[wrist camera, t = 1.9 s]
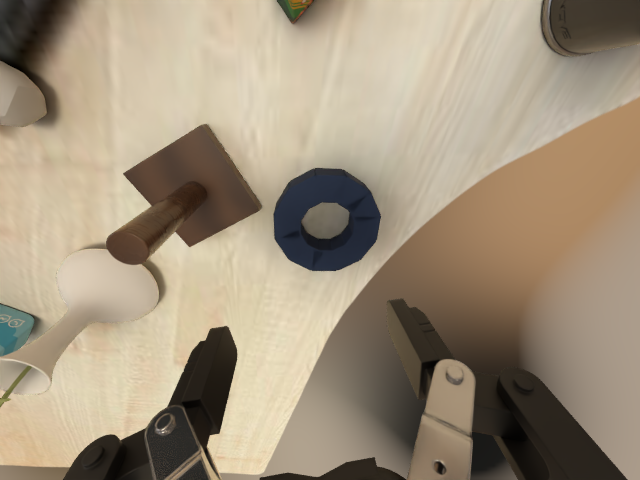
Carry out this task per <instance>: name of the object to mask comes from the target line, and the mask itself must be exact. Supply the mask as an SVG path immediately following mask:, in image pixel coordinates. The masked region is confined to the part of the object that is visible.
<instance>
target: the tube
mask: <svg viewBox="0 0 640 480" xmlns="http://www.w3.org/2000/svg"><path fill="white" fill-rule="evenodd" d="M46 114H47V110H46V104H45V97H44V95H43V94H42V92H41V91H40V89H39V88H38V87H37V86H36V85H35V84H34V83H33V82H32V81H31V80H30V79H29V78H28V77H27V76H26V75H25V74H24V73H22V72H20V71H19V70H17V69H15V68H13V67H11V66H9V65H7V64H5V63H4V62H2V61H0V124H1V125H8V126H17V127H24V126H27V125H30V124H33V123H34V122H36V121H37V120H39V119H40V118H42V117H43V116H45V115H46Z"/></svg>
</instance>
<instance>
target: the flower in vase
mask: <svg viewBox="0 0 640 480" xmlns="http://www.w3.org/2000/svg"><path fill="white" fill-rule="evenodd" d="M56 282H57V287H58V291H59V293H60V295H61V297H62V299H63V301H64V302H65V304H66V305H67V307H68V309H67V312H66V313H65V315H64V316H63V317H62V318H61V319H60V320H59V321H58V322H57V323H56V324H55V325H54V326H53V327H51V328H50V329H49V330H48V331H47V332H45V333H44V334H43V335H41V336H40V337H38V338H37V339H36V340H34V341H33V342H31V343H29V344H28V345H26V346H25V347H23V348H21V349H19V350H17V351H15V352H13V353H10V354H7V355H4V356H1V357H0V389H1V390H3V391H6V392H5V394H4V395H3V396H2V398H0V407H1V406H2V404H3V403H4V402H6V401H9V400H11V399H9V398H8V396H9V395H10V394H11V393H14V394H20V395H36V394H41V393H44V392H46V391H47V390H49V388H50V387H51V384H52V373H53V369H54V367H55V365H56V362H57V361H58V359H59V358H60V356H61V355H62V353H63V352H64V350H65V349H66V348H67V347H68V345H69V344H70V343H71V342H72V341H73V339H74V338H75V337H76V336H77V335H78V334H79V333H80V332H81V331H82V330H83V329H84V328H86V327H87V326H88V325H90V324H92V323H95V322H100V323H124V322H130V321H135V320H138V319H140V318H142V317H144V316H145V315H147V314H149V313H150V312H151V311H152V310H153V309H154V308H155V307H156V305H157V303H158V300H159V290H158V286H157V283H156V280H155V279H154V277H153V275H152V274H151V273H150V271H149V270H148V269H147V268H146V267H145V266H143V265H142V264H139V265H128V264H125V263H122V262H120V261H118V260H116V259H115V258H114V257H113V256H112V255H111V254H110V253H109V251H108V250H107V249H84V250H79V251H76V252H74V253H72V254H70V255H68V256H67V257H66V258H65V259H64V260H63V261H62V263H61V265H60V266H59V268H58V270H57V273H56Z"/></svg>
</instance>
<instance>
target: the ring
mask: <svg viewBox="0 0 640 480" xmlns="http://www.w3.org/2000/svg"><path fill="white" fill-rule="evenodd" d="M322 202H325V203H338V204H339V205H341V206H342V207H344V208H346V209H347V210H349V212H350V214H349V223H348V225H347V227H346V228H345V229H344V231H343V232H342V233H341V234H340V235H338V236H335V237H333V238H331V239H317V238H315V237H313V236H311V235H310V234H308V233H307V232H306V231H305V229H304V227H303V226H302V224H301V220H302V218H303V217H304V215H305V214H306V212H307V211H308V209H310V208H312V207H314V206H316V205H318V204H320V203H322ZM380 219H381V216H380V212H379V210H378V208H377V205H376V203H375V200H374V198H373V196H372V193H371V192H370V190H369V189H368V188H367V187H366V185H365V184H364V183H363V182H361V181H360V180H358V179H357V178H355V177H354V176H352V175H351V174H349V173H348V172H346V171H345V170H342V169H323V168H315V170H314V169H312V170H310V171H308V172H306V173H304V174H302V175H301V176H299V177H297V178H295V179H293V180H291V181H290V182H289V183H288V185H287V186H286V188H285V190H284V191H283V193H282V195H281V196H280V198H279V200H278V202H277V203H276V207H275V211H274V236H275V240H276V242H277V243H278V245H279V246H280V248H281V249H282V251H283V252H284V253H285V255H286V256H287V258H288V259H289V260H290V261H292V262H294V263H296V264H298V265H300V266H302V267H304V268H307V269H309V270H312V271H336V269H337V270H340V269H342V268H344V267H347V266H349V265H351V264H353V263H355V262H358V261H359V259H360V260H361V259H362V258H363V256H364V255H365V254H366V253H367V252H368V250H369V249H370V248H371V247H372V246H373V244H374V243H375V242H376V240H377V235H378V230H379V224H380Z"/></svg>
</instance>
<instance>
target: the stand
mask: <svg viewBox="0 0 640 480" xmlns="http://www.w3.org/2000/svg"><path fill="white" fill-rule="evenodd" d="M123 174H124V176H125V177H126V178H127V179H128V180H129V181H130V182H131V183H132V184H133V185H134V187H135V188H136V189H137V190H138V191H139V192H140V193H141V194H142V195H143V196H144V198H145V199H146V200H147V201H148V202H149V203H150V204H151V205H152V207H150V208H149V209H147V210H146V211H144V212H143V213H141V214H140V215H138V216H137V217H135V218H134V219H133V220H131V221H130V222H128V223H127V224H125V225H124V226H122V227H121V228H119V229H118V230H116V231H115V232H114V233H112V234H111V235H110V236H109V237H108V238H107V241H106V246H107V249H108V251H109V253H110V254H111V255H112V256H113V257H114V258H115V259H116V260H118V261H120V262H122V263H125V264H128V265H139V264H142V263H144V262H145V261H146V260H147V259H148V258H149V257H150V256H151V255H152V254H153V253H154V252H155V251H156V250H157V249H158V248H159V247H160V246H161V245H162V244H163V243H164V242H165V241H166V240H167V239H168V238H169V237H170V236H171V235H172V234H173V233H174V232H176V233H177V234H178V235H179V236H180V237H181V238H182V239H183V240H184V242H185V243H186V244H187V245H188V246H189V247H191V246H193V245H195V244H197V243H198V242H200V241H202V240H204V239H206V238H208V237H210V236H212V235H214V234H216V233H218V232H219V231H221V230H223V229H225V228H227V227H229V226H231V225H233V224H235V223H237V222H238V221H240V220H242V219H244V218H246V217H248V216H250V215H252V214H254V213H256V212H258V211H259V210H260V208H261V204H260V203H259V201H258V200H257V198H256V197H255V195H254V194H253V192H252V191H251V189H250V188H249V186H248V185H247V183H246V182H245V180H244V179H243V177H242V176H241V174H240V173H239V171H238V170H237V168H236V167H235V165H234V164H233V162H232V161H231V159H230V158H229V157H228V155H227V154H226V152H225V151H224V149H223V148H222V146H221V145H220V143H219V142H218V140H217V139H216V137H215V136H214V134H213V133H212V131H211V130H210V128H209V127H208V125H207V124H204V125H201V126H199V127H197V128H196V129H194V130H193V131H191V132H189V133H188V134H186V135H184V136H183V137H181V138H180V139H178V140H176V141H175V142H173V143H172V144H170V145H168V146H167V147H165V148H163V149H162V150H160V151H159V152H157V153H155V154H154V155H152V156H151V157H149V158H147V159H146V160H144V161H142V162H141V163H139V164H138V165H136V166H134V167H133V168H131V169H130V170H128V171H126V172H125V173H123Z"/></svg>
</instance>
